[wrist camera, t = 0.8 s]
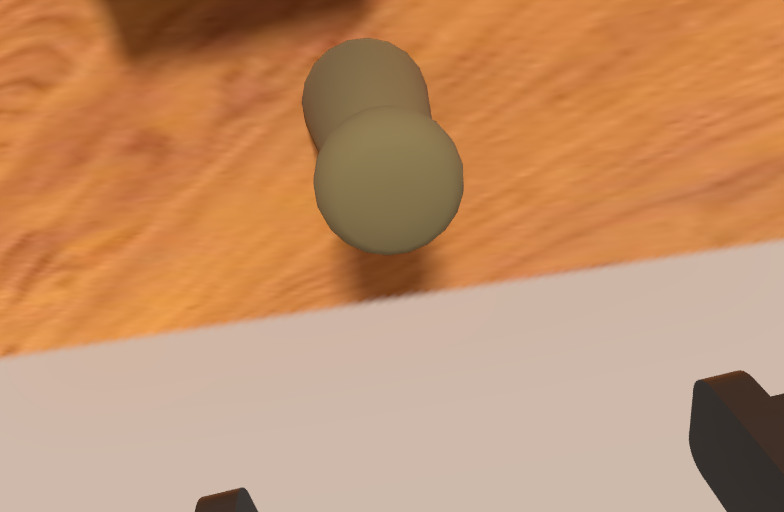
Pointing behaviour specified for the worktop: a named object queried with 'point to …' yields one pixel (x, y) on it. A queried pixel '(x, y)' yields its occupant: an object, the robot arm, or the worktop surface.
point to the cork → (379, 149)
